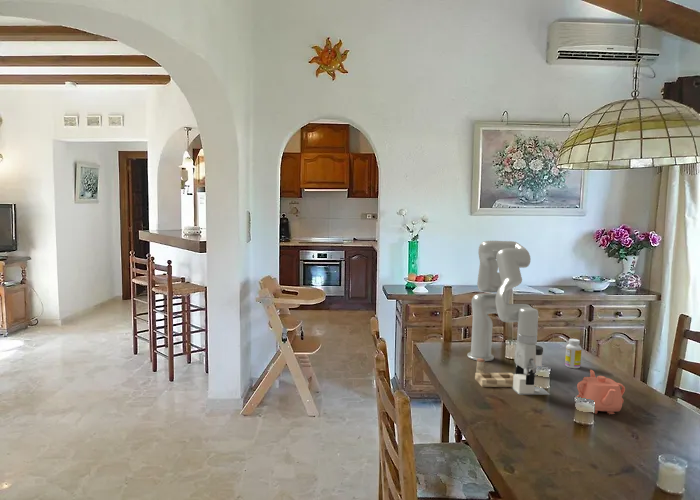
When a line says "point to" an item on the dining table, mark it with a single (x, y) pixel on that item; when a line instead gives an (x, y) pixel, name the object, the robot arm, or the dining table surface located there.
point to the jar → (537, 357)
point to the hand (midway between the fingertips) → (524, 380)
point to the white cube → (522, 384)
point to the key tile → (536, 391)
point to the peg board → (494, 379)
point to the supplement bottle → (573, 354)
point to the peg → (480, 365)
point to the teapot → (602, 392)
